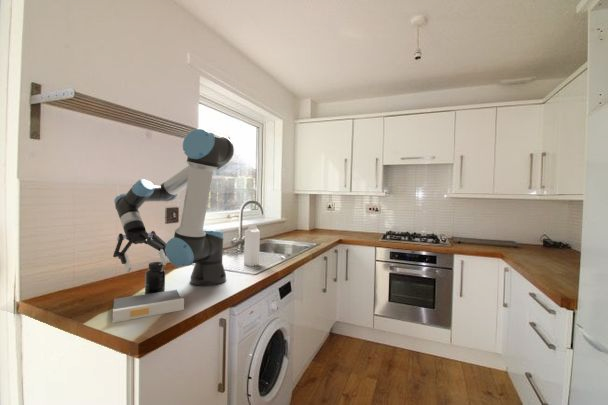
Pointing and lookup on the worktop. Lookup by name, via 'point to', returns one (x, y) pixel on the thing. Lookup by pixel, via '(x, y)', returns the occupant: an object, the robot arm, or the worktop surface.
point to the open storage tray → (146, 305)
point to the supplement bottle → (155, 278)
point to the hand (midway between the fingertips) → (148, 266)
